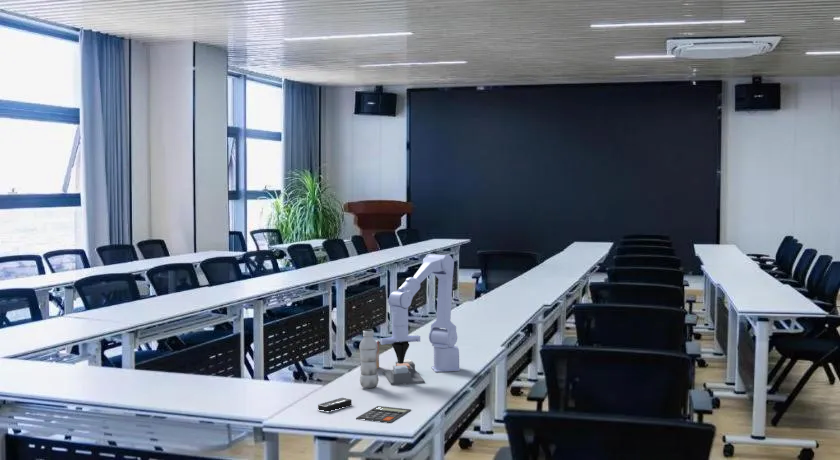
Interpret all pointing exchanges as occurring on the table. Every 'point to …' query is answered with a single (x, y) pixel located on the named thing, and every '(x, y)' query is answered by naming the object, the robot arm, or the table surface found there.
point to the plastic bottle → (368, 360)
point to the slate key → (400, 369)
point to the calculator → (384, 414)
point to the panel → (404, 376)
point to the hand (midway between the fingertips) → (400, 363)
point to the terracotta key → (403, 365)
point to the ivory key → (407, 361)
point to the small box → (377, 355)
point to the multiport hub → (335, 404)
